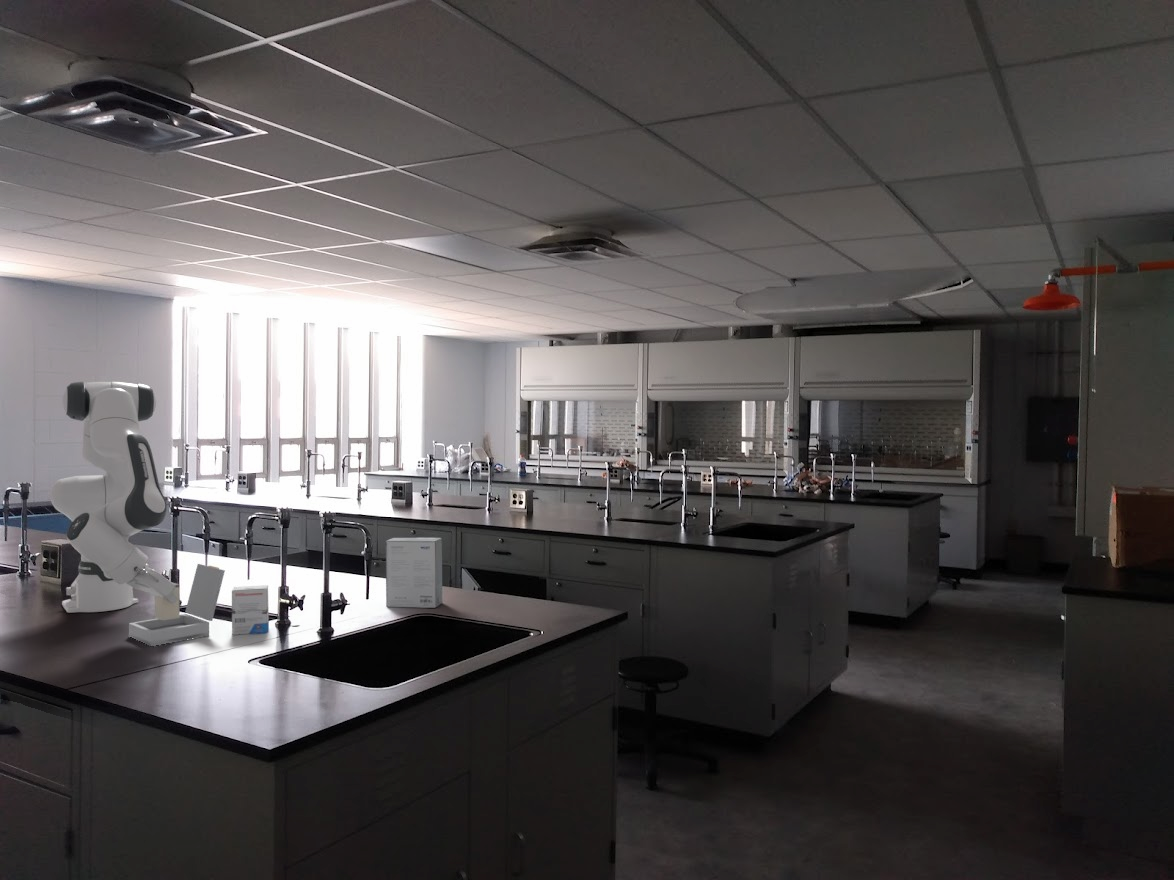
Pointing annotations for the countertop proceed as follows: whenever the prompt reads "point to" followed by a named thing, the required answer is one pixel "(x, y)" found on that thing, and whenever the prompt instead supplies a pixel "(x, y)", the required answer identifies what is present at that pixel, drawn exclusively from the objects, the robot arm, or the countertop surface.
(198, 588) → the case lid
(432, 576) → the hard drive box
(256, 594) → the ink box
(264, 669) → the countertop surface
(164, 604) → the block
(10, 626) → the countertop surface
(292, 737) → the countertop surface
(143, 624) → the case
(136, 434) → the robot arm
